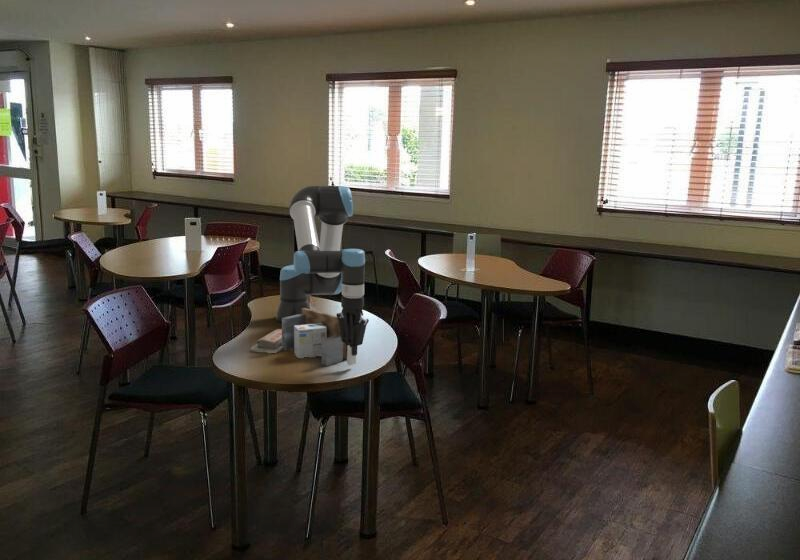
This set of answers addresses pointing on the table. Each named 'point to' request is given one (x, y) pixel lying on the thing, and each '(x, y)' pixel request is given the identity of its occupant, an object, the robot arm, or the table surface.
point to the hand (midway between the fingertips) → (351, 363)
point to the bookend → (332, 350)
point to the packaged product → (269, 342)
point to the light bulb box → (309, 339)
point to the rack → (309, 318)
